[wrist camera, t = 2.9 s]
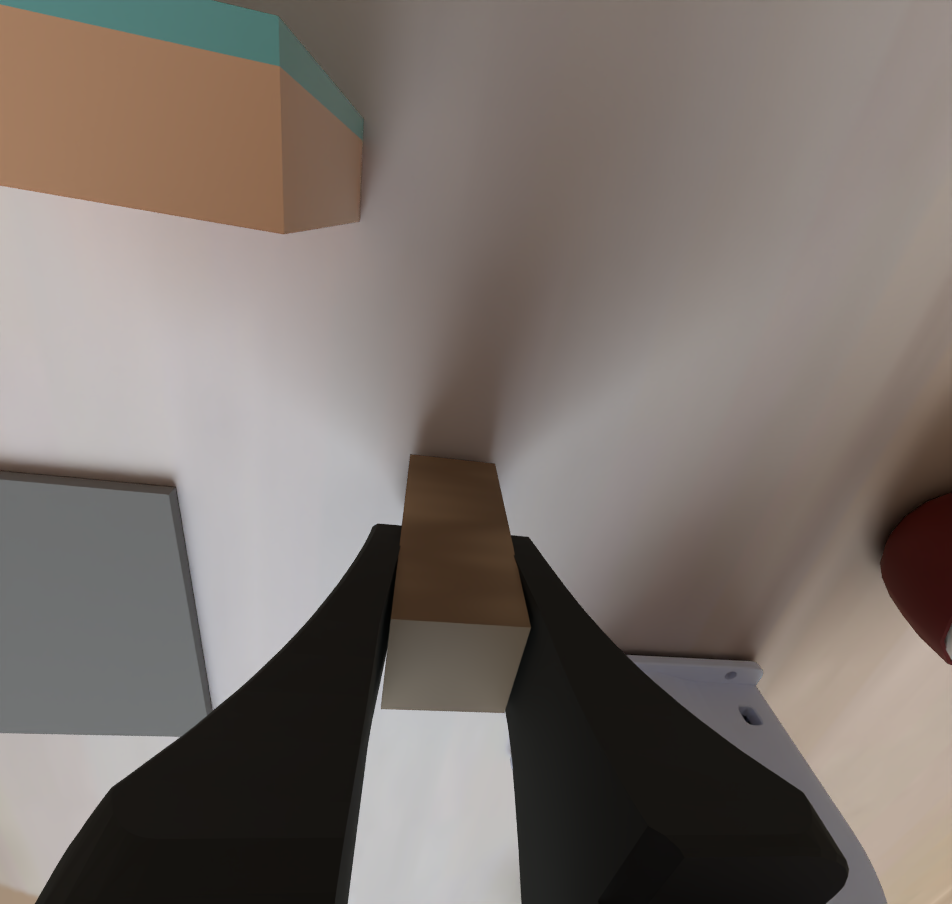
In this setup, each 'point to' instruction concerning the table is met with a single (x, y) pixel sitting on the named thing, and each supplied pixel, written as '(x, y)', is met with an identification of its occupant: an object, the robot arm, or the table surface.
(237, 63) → the tile
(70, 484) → the mat
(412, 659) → the stick
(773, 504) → the table surface
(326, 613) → the robot arm
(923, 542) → the cocoa
